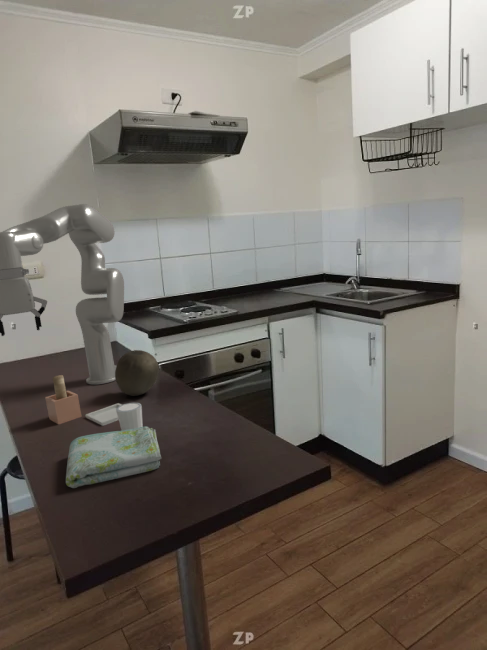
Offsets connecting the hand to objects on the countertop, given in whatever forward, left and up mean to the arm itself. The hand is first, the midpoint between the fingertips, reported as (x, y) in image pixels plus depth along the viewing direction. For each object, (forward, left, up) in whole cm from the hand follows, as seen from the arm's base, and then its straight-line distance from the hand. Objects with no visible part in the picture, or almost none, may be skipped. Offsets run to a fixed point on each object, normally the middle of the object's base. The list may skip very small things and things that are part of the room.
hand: (21, 332), depth 143 cm
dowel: (-5, +8, -27) cm, 29 cm away
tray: (-15, +19, -28) cm, 37 cm away
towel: (-1, +47, -28) cm, 55 cm away
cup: (-5, +8, -28) cm, 29 cm away
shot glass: (-13, +34, -28) cm, 46 cm away
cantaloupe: (-31, +8, -28) cm, 43 cm away
